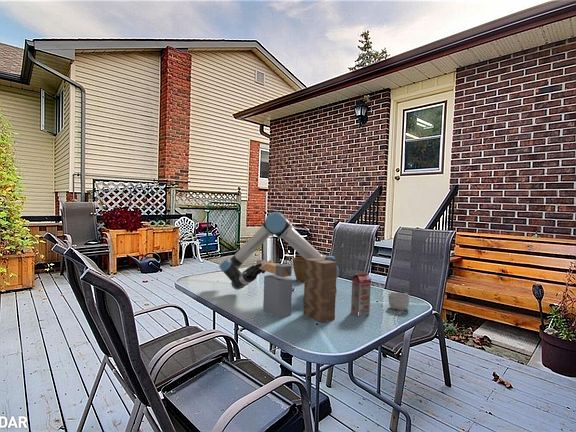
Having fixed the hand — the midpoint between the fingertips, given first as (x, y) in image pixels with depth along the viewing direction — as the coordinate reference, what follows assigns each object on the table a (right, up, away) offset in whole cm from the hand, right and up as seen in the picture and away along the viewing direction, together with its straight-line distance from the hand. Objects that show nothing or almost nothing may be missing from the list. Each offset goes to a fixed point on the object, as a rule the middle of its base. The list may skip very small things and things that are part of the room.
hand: (268, 261), depth 173 cm
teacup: (+72, -27, +8) cm, 77 cm away
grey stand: (+4, -25, -6) cm, 26 cm away
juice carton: (+47, -27, -3) cm, 54 cm away
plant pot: (+20, -23, +66) cm, 72 cm away
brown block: (+2, -5, -2) cm, 6 cm away
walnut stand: (+25, -26, -9) cm, 37 cm away
